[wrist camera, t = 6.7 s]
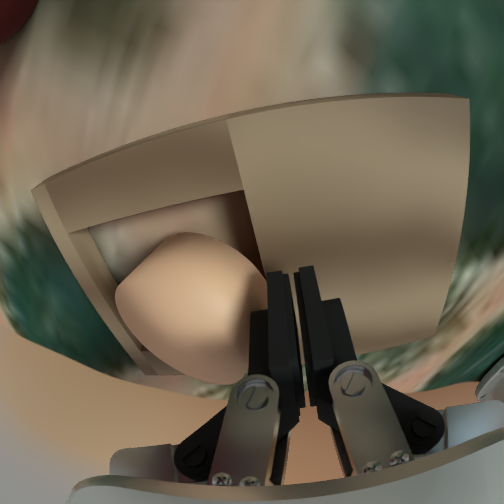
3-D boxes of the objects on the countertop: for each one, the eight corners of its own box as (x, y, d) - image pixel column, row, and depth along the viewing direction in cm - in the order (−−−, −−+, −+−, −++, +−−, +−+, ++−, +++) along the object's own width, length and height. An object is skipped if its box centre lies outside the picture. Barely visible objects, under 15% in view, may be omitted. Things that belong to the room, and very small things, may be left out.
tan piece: (425, 318, 16) (434, 335, 14) (150, 357, 18) (145, 374, 17) (448, 93, 9) (468, 98, 7) (48, 177, 11) (30, 190, 10)
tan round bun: (286, 342, 13) (262, 396, 11) (185, 325, 16) (156, 365, 14) (253, 230, 10) (210, 288, 8) (137, 234, 13) (93, 274, 11)
